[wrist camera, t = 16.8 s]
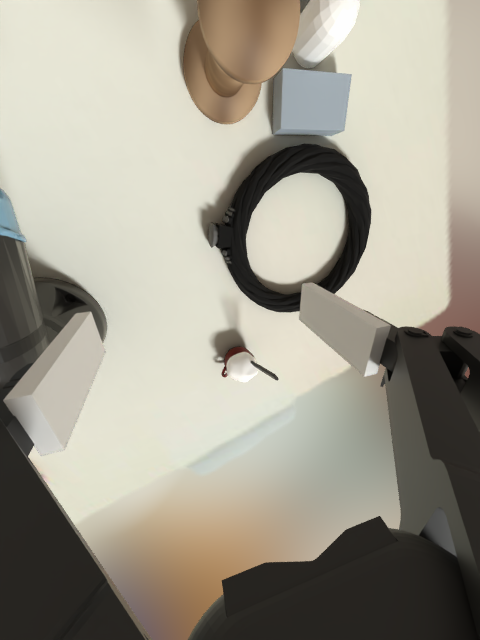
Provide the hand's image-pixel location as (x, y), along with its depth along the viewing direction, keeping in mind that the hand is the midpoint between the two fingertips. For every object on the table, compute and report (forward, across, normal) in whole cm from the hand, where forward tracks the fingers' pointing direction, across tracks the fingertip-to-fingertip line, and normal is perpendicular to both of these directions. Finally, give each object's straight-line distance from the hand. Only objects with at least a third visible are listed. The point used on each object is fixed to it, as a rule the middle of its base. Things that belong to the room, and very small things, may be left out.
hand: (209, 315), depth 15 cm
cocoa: (+27, -8, +23) cm, 36 cm away
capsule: (+27, -20, -25) cm, 42 cm away
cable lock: (+27, -19, 0) cm, 33 cm away
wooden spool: (+27, -8, -21) cm, 35 cm away
